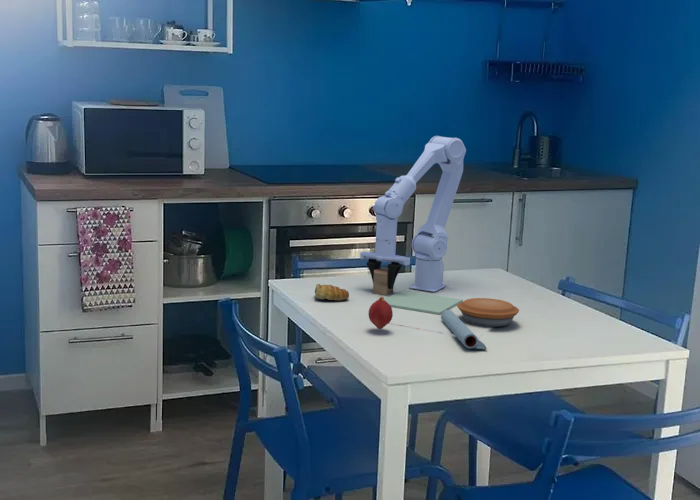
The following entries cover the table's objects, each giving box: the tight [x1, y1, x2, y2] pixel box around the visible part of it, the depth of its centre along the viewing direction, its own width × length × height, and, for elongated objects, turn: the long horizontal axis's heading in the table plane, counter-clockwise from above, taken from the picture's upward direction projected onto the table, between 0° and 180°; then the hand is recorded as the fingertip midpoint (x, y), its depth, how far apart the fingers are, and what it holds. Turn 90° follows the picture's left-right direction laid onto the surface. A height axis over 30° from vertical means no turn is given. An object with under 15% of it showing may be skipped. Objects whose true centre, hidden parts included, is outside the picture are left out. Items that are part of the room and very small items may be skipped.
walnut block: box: [372, 266, 394, 297], centre depth 249 cm, size 5×4×7 cm
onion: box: [367, 296, 394, 330], centre depth 212 cm, size 6×6×8 cm
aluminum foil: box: [440, 309, 488, 350], centre depth 212 cm, size 23×7×3 cm, turn 7°
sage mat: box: [384, 290, 464, 316], centre depth 241 cm, size 18×18×1 cm
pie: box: [456, 297, 520, 327], centre depth 225 cm, size 15×16×5 cm
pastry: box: [314, 283, 350, 302], centre depth 239 cm, size 9×7×4 cm
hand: (383, 287), depth 249 cm, fingers closed on walnut block, 4 cm apart
